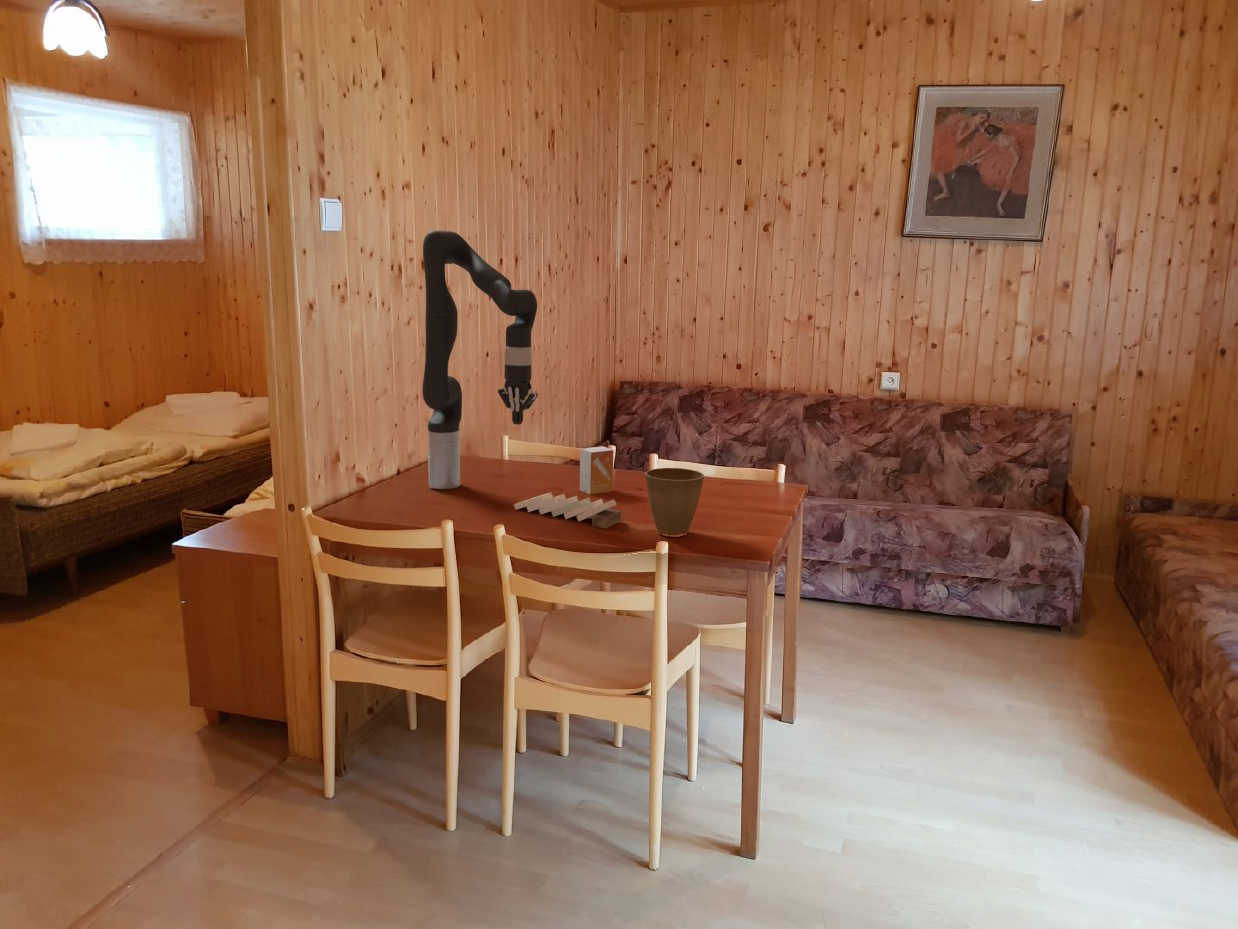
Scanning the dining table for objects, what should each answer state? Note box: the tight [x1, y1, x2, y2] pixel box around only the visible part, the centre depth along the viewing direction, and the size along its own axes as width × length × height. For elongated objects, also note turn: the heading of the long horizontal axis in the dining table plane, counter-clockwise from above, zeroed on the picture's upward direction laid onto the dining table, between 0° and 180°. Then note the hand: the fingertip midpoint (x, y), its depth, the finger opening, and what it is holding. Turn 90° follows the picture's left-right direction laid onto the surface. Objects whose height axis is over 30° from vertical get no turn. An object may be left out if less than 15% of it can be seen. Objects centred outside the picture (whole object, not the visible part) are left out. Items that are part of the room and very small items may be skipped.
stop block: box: [591, 508, 622, 530], centre depth 257 cm, size 4×8×3 cm, turn 149°
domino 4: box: [550, 497, 592, 518], centre depth 263 cm, size 2×5×10 cm
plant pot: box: [645, 467, 705, 535], centre depth 249 cm, size 15×15×16 cm
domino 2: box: [526, 493, 567, 513], centre depth 267 cm, size 2×5×10 cm
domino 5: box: [563, 498, 605, 520], centre depth 261 cm, size 2×5×10 cm
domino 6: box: [575, 499, 617, 522], centre depth 259 cm, size 2×5×10 cm
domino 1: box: [513, 491, 554, 510], centre depth 269 cm, size 2×5×10 cm
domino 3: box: [538, 495, 579, 515], centre depth 265 cm, size 2×5×10 cm
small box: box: [579, 446, 614, 496], centre depth 290 cm, size 8×6×13 cm
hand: (517, 423), depth 273 cm, fingers closed
